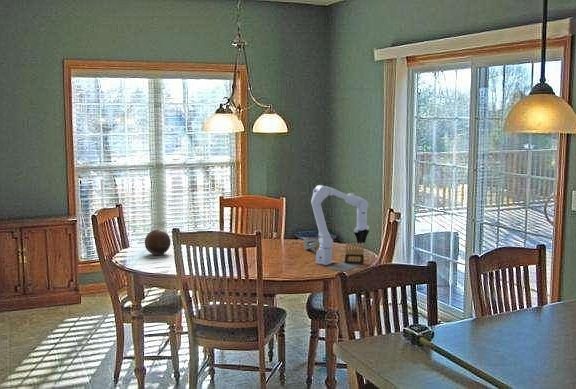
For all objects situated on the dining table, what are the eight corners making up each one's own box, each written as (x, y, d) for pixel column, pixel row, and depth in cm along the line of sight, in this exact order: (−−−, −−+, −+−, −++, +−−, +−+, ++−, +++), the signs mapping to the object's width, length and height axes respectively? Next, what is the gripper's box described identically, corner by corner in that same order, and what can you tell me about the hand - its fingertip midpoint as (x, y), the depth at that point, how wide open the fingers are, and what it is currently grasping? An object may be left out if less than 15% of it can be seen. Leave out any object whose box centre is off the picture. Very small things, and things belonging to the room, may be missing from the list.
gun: (309, 263, 413) (306, 239, 417) (323, 256, 390) (320, 231, 394) (305, 263, 412) (302, 240, 416) (318, 256, 389) (315, 231, 393)
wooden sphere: (175, 254, 395) (175, 229, 393) (158, 258, 383) (157, 232, 381) (157, 251, 403) (157, 226, 402) (139, 255, 391) (139, 230, 389)
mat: (345, 271, 354) (345, 270, 354) (326, 268, 361) (326, 267, 361) (360, 265, 368) (360, 265, 368) (342, 263, 375) (342, 262, 375)
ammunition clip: (363, 263, 375) (363, 242, 374) (363, 263, 373) (364, 242, 372) (344, 262, 374) (345, 241, 373) (344, 263, 372) (345, 242, 371)
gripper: (361, 222, 369) (361, 245, 371) (374, 218, 381) (373, 242, 383) (350, 220, 373) (350, 244, 375) (363, 217, 385) (362, 240, 387)
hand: (361, 243), depth 379 cm, fingers open, 4 cm apart
